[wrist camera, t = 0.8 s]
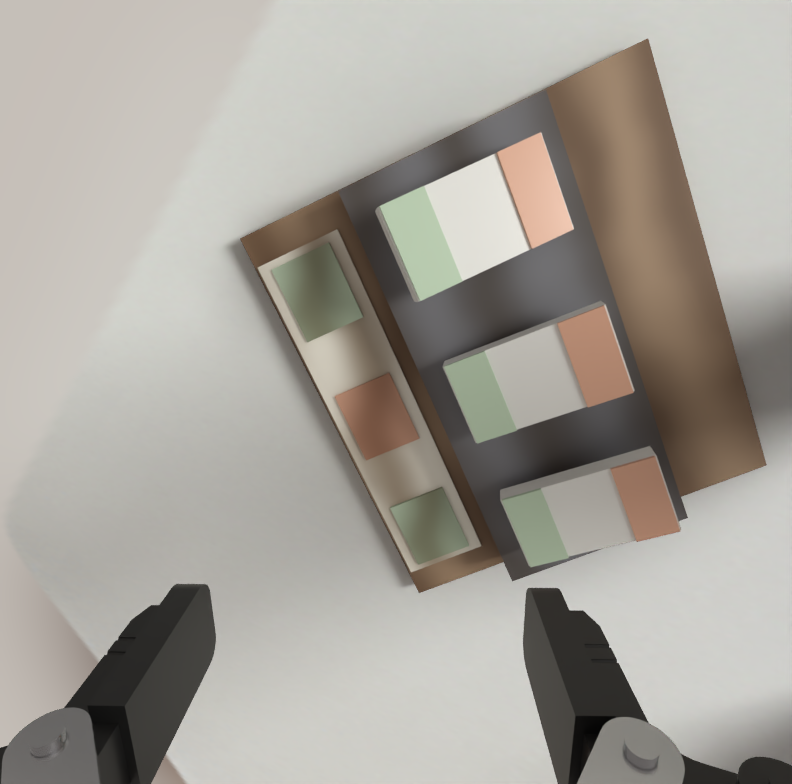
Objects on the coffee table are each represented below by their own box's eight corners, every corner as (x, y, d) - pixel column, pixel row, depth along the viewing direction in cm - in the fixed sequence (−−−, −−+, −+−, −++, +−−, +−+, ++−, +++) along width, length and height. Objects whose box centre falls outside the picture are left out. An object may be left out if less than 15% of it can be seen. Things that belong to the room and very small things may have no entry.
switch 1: (531, 139, 26) (542, 131, 25) (563, 231, 27) (575, 228, 26) (374, 211, 25) (377, 206, 24) (414, 301, 27) (418, 302, 25)
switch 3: (649, 445, 29) (657, 456, 27) (674, 517, 30) (682, 531, 28) (500, 489, 31) (500, 501, 30) (527, 554, 32) (528, 567, 31)
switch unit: (638, 46, 29) (686, 3, 24) (754, 458, 35) (812, 491, 30) (246, 239, 32) (216, 236, 27) (418, 582, 39) (420, 631, 34)
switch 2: (600, 300, 26) (606, 304, 25) (629, 384, 28) (635, 392, 26) (444, 361, 29) (442, 367, 28) (476, 434, 30) (475, 444, 29)
